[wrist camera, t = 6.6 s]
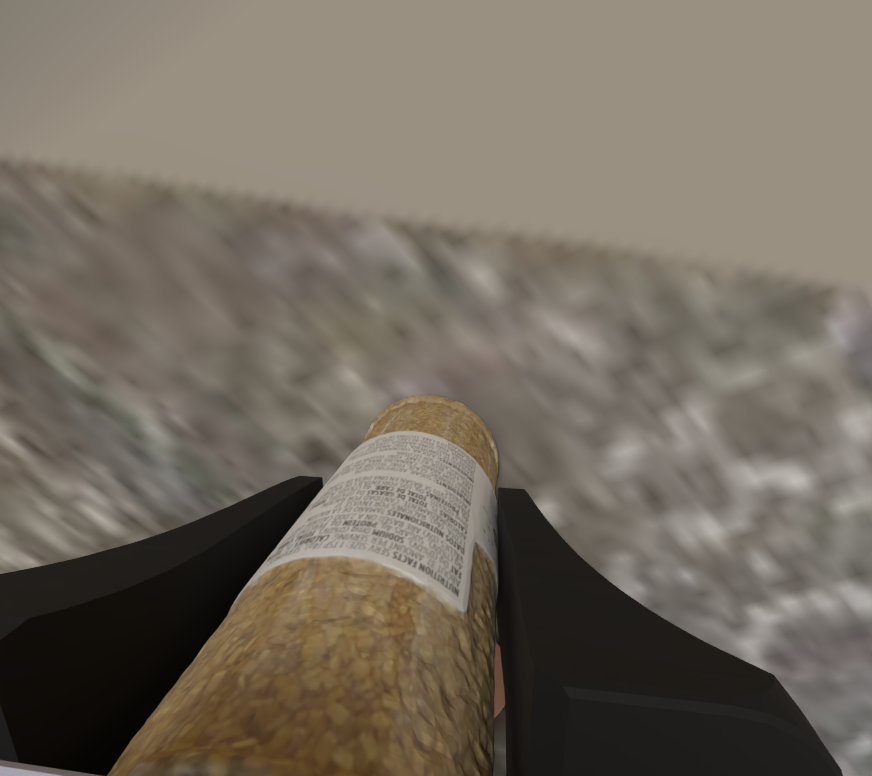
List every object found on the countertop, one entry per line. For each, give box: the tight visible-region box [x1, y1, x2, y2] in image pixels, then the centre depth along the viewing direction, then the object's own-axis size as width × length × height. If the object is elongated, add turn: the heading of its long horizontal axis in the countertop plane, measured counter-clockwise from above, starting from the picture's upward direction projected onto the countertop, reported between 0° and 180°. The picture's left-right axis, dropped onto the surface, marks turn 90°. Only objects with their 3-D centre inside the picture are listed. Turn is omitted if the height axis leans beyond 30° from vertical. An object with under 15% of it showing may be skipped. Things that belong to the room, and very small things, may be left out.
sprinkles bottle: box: [107, 395, 499, 776], centre depth 8 cm, size 5×5×13 cm
